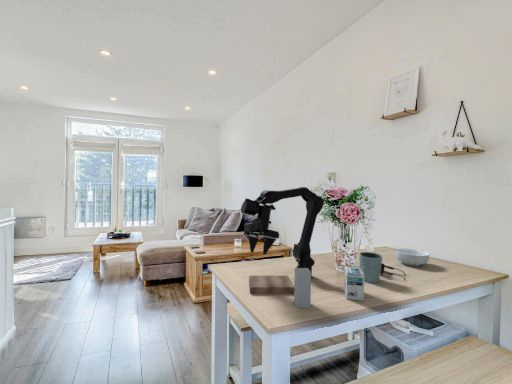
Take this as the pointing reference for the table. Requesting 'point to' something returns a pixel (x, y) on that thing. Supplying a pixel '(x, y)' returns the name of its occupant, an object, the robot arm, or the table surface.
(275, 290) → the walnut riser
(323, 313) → the table surface
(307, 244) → the robot arm
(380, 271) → the sunglasses
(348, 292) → the light bulb box
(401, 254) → the cereal bowl
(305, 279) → the slate block
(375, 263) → the grey green cup
